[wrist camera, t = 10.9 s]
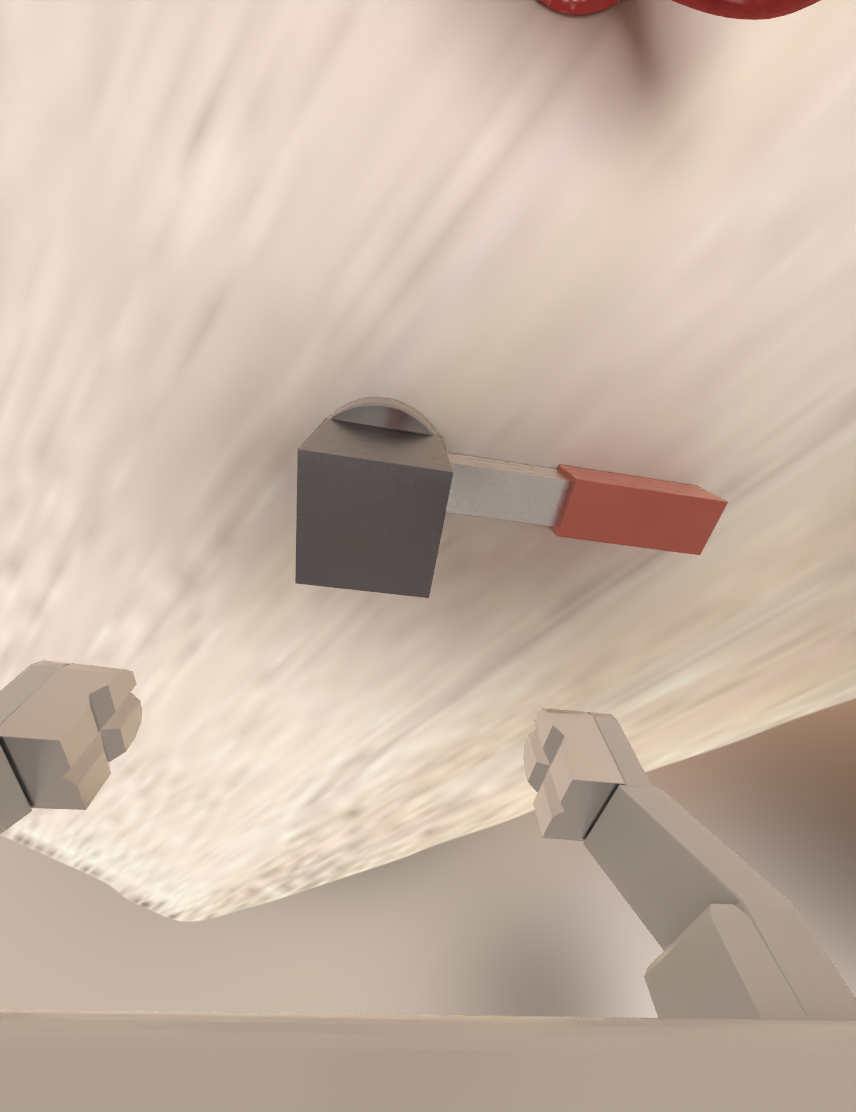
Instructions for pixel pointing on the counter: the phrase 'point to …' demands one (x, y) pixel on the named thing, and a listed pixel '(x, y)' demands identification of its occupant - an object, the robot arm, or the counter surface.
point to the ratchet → (563, 493)
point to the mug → (697, 7)
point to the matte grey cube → (370, 508)
